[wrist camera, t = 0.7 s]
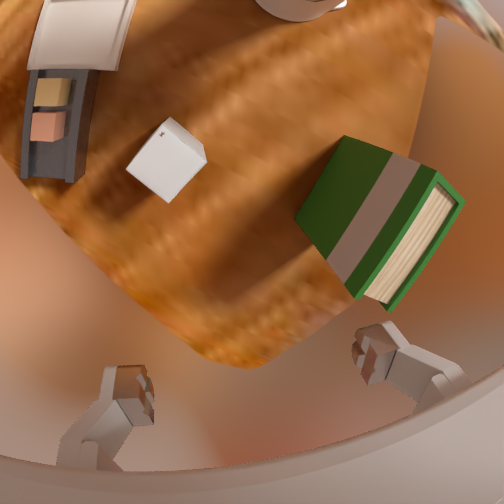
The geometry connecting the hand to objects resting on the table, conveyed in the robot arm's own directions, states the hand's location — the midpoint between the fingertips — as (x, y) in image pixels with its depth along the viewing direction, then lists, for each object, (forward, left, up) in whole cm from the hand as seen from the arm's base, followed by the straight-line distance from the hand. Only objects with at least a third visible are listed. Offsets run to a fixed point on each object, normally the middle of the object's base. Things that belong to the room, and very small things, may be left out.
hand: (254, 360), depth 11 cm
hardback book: (+1, +24, -42) cm, 48 cm away
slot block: (-2, -24, -42) cm, 48 cm away
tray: (-18, -24, -42) cm, 52 cm away
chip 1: (-7, -24, -38) cm, 46 cm away
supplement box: (0, -5, -42) cm, 42 cm away
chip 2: (-2, -24, -38) cm, 45 cm away
